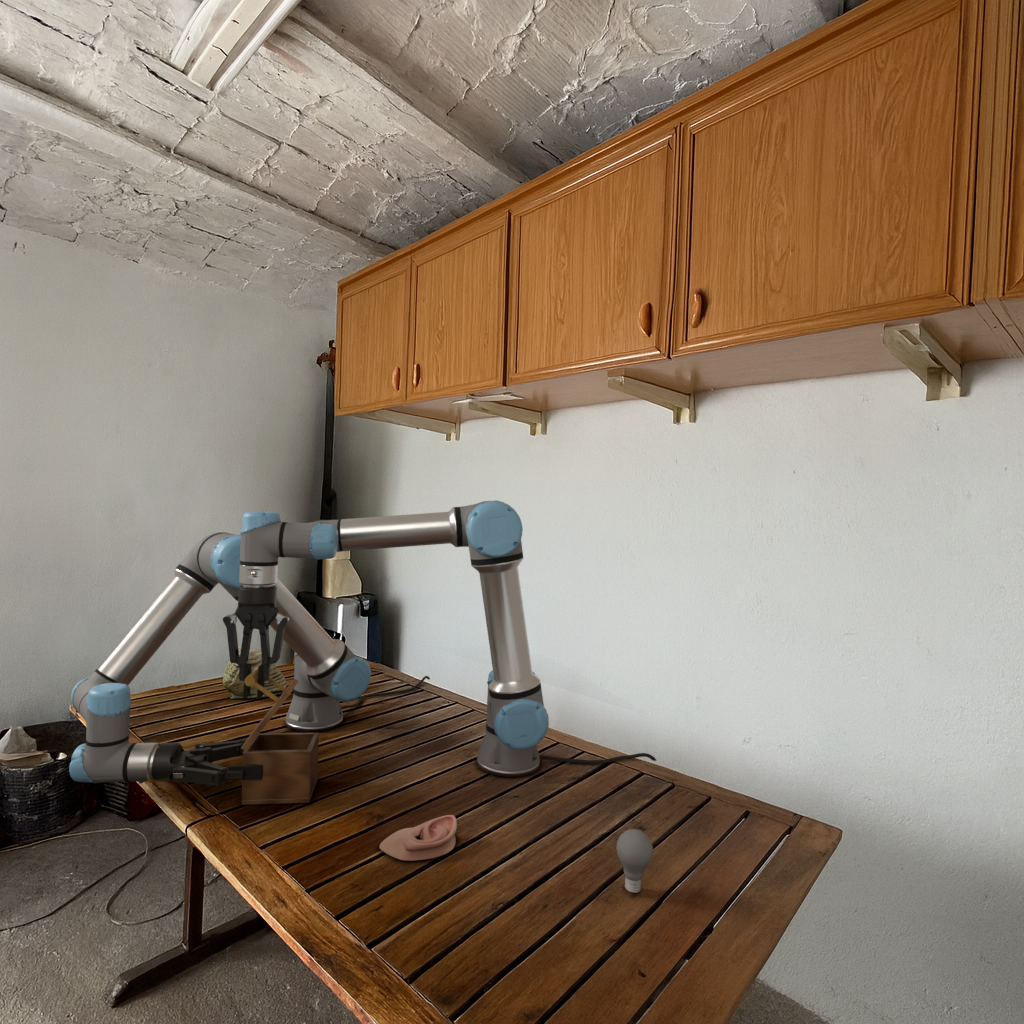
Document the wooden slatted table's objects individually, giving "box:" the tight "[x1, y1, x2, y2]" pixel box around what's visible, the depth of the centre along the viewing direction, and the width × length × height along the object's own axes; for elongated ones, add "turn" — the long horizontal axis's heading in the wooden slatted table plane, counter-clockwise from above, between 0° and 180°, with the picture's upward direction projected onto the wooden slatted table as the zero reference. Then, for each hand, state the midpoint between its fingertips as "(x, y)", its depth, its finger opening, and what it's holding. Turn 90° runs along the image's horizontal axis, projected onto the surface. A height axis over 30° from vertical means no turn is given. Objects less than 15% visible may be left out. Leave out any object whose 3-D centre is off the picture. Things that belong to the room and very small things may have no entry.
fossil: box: [222, 646, 288, 699], centre depth 198 cm, size 9×18×15 cm, turn 132°
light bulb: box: [615, 828, 654, 894], centre depth 106 cm, size 6×6×10 cm
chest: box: [241, 732, 320, 806], centre depth 135 cm, size 13×10×11 cm
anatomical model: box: [379, 814, 458, 862], centre depth 117 cm, size 13×4×12 cm
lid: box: [241, 666, 299, 751], centre depth 134 cm, size 14×10×9 cm
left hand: (268, 760), depth 134 cm, fingers closed on chest, 10 cm apart
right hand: (253, 695), depth 134 cm, fingers closed on lid, 2 cm apart
